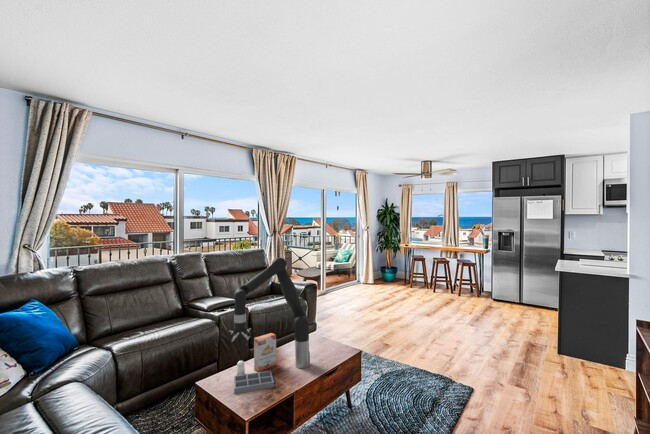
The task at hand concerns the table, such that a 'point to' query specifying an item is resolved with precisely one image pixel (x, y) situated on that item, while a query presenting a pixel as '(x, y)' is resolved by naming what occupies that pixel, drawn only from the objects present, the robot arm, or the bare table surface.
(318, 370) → the table surface
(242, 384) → the egg tray
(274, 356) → the cracker box
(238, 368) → the egg
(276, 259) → the robot arm
